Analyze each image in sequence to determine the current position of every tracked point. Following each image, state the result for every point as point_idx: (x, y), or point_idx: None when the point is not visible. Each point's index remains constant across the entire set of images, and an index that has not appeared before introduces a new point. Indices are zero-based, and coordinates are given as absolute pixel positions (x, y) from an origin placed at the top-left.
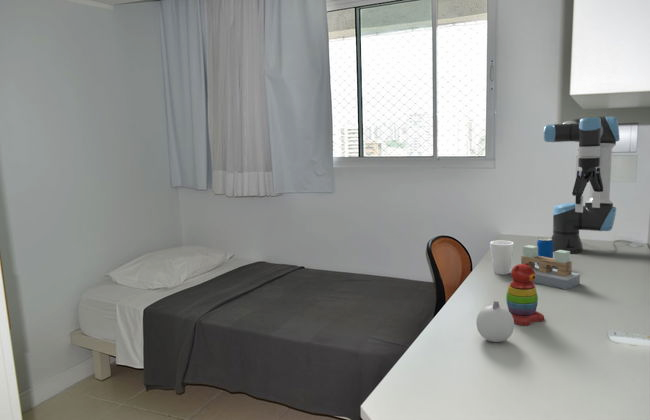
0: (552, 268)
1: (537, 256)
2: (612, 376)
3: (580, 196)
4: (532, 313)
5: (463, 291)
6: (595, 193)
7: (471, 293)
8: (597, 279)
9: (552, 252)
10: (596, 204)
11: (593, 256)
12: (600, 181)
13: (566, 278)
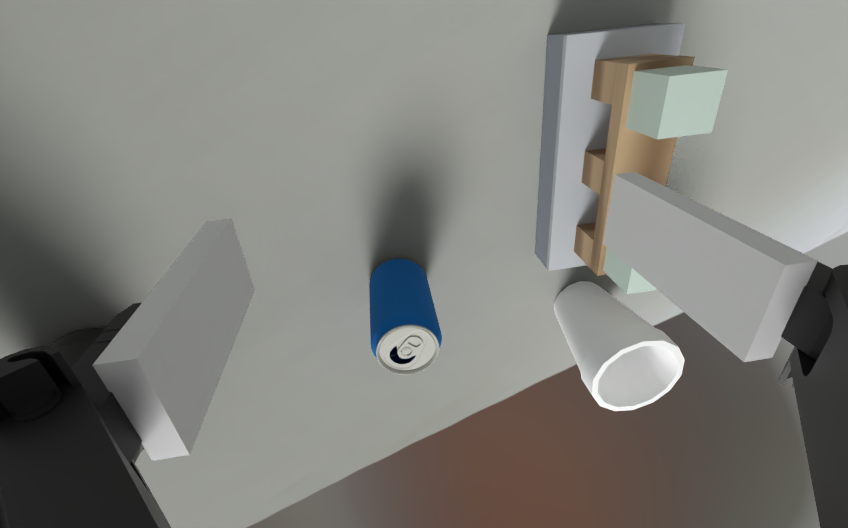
0: (590, 153)
1: None
2: None
3: (808, 282)
4: None
5: (828, 234)
6: (181, 390)
7: (840, 208)
8: (430, 19)
9: (394, 287)
10: (230, 265)
11: (94, 259)
12: None
13: (678, 29)
